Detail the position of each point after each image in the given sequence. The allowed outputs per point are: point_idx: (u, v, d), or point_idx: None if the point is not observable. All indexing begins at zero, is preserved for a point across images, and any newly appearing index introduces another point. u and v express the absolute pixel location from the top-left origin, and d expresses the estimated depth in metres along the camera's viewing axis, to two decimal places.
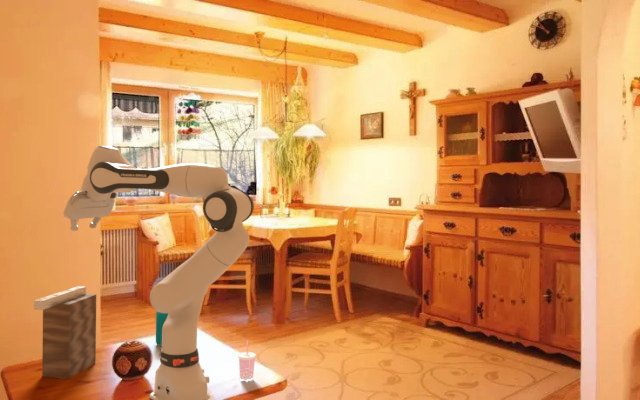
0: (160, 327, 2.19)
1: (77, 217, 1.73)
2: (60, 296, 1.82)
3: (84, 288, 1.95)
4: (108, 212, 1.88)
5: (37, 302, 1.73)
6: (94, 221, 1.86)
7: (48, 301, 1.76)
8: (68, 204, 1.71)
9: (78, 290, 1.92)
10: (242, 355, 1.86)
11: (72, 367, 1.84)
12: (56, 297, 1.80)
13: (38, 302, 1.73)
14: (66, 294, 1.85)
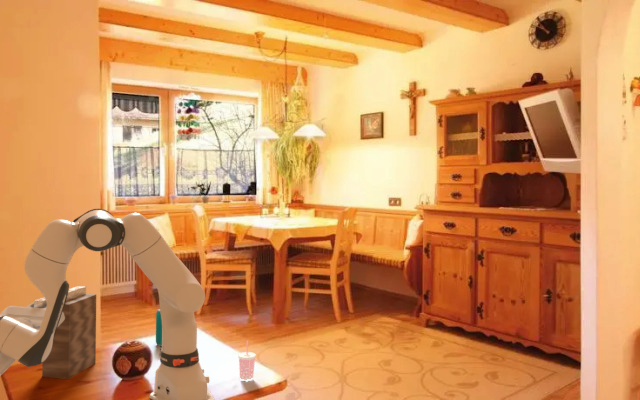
0: (160, 327, 2.19)
1: None
2: None
3: (84, 288, 1.95)
4: (9, 308, 1.72)
5: (37, 302, 1.73)
6: None
7: None
8: (57, 325, 1.68)
9: (78, 290, 1.92)
10: (242, 355, 1.86)
11: (72, 367, 1.84)
12: None
13: (38, 302, 1.73)
14: None
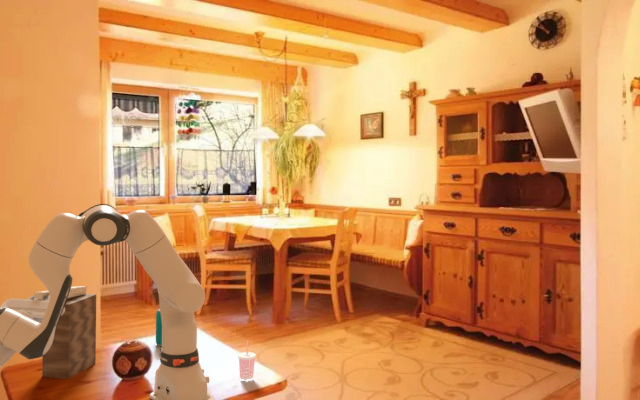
0: (160, 327, 2.19)
1: None
2: None
3: (84, 288, 1.95)
4: (9, 301, 1.72)
5: (38, 294, 1.73)
6: None
7: None
8: None
9: (78, 289, 1.92)
10: (242, 355, 1.86)
11: (72, 367, 1.84)
12: None
13: (39, 294, 1.73)
14: None
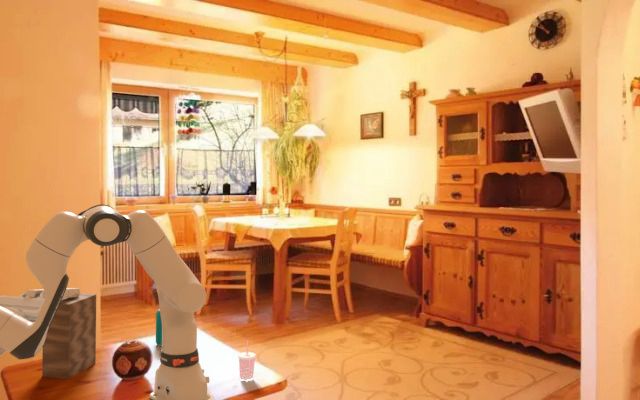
0: (160, 327, 2.19)
1: None
2: None
3: (78, 290, 1.92)
4: (0, 298, 1.68)
5: (30, 292, 1.70)
6: None
7: None
8: None
9: (72, 290, 1.88)
10: (242, 355, 1.86)
11: (72, 367, 1.84)
12: None
13: (31, 292, 1.70)
14: None
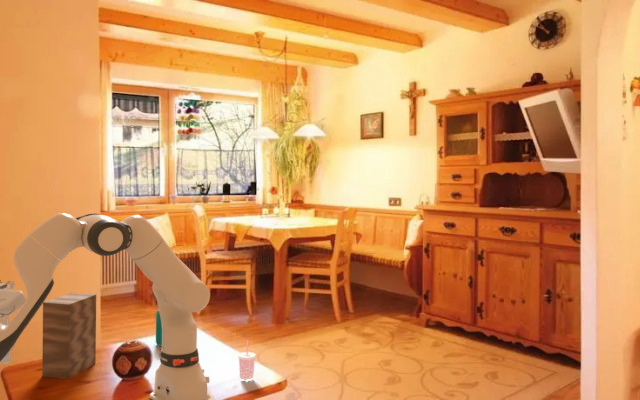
0: (160, 327, 2.19)
1: (13, 291, 1.52)
2: None
3: (9, 358, 1.59)
4: None
5: (0, 283, 1.57)
6: None
7: None
8: (16, 307, 1.50)
9: None
10: (242, 355, 1.86)
11: (72, 367, 1.84)
12: None
13: (1, 283, 1.57)
14: (7, 324, 1.58)
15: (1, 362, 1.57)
